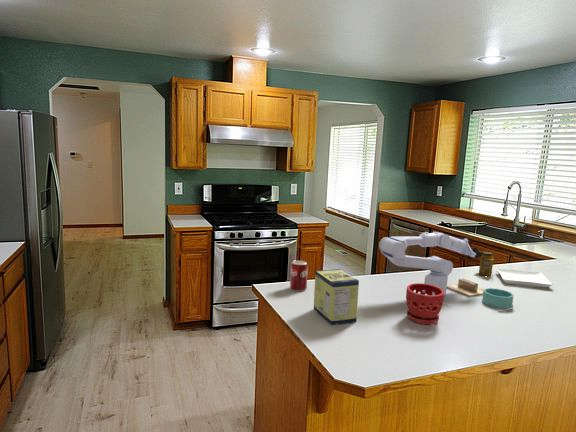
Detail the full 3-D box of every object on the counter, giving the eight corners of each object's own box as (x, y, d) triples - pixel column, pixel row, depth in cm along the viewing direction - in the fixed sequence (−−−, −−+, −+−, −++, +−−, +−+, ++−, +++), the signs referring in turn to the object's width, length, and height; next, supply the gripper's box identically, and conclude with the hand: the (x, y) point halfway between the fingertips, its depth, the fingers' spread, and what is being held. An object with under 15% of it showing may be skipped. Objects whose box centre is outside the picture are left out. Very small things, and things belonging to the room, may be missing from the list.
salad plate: (502, 285, 198) (503, 278, 198) (494, 273, 218) (495, 267, 218) (552, 291, 192) (553, 284, 192) (539, 278, 212) (540, 272, 212)
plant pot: (397, 314, 156) (399, 284, 154) (425, 311, 160) (428, 281, 158) (419, 329, 144) (422, 296, 142) (449, 324, 148) (452, 292, 146)
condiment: (494, 275, 214) (497, 253, 212) (488, 278, 208) (490, 255, 206) (480, 272, 219) (482, 250, 217) (473, 275, 213) (476, 252, 211)
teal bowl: (499, 310, 164) (501, 298, 163) (476, 301, 174) (477, 290, 173) (518, 307, 169) (519, 295, 168) (494, 298, 178) (495, 287, 178)
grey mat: (469, 299, 176) (469, 298, 176) (442, 288, 189) (442, 287, 189) (493, 295, 182) (493, 294, 182) (465, 284, 196) (465, 283, 196)
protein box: (336, 306, 162) (339, 268, 159) (357, 322, 147) (360, 280, 145) (312, 309, 158) (314, 270, 155) (331, 325, 144) (333, 282, 141)
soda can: (307, 286, 184) (308, 260, 182) (306, 292, 177) (307, 265, 175) (290, 285, 184) (291, 259, 183) (289, 291, 177) (290, 264, 175)
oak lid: (468, 297, 177) (470, 287, 176) (445, 287, 189) (446, 278, 188) (489, 293, 183) (490, 284, 182) (465, 284, 194) (466, 275, 194)
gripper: (470, 244, 175) (491, 251, 181) (449, 229, 188) (469, 236, 193) (461, 258, 177) (482, 264, 183) (441, 242, 190) (462, 248, 195)
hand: (475, 251), depth 188 cm, fingers open, 7 cm apart
